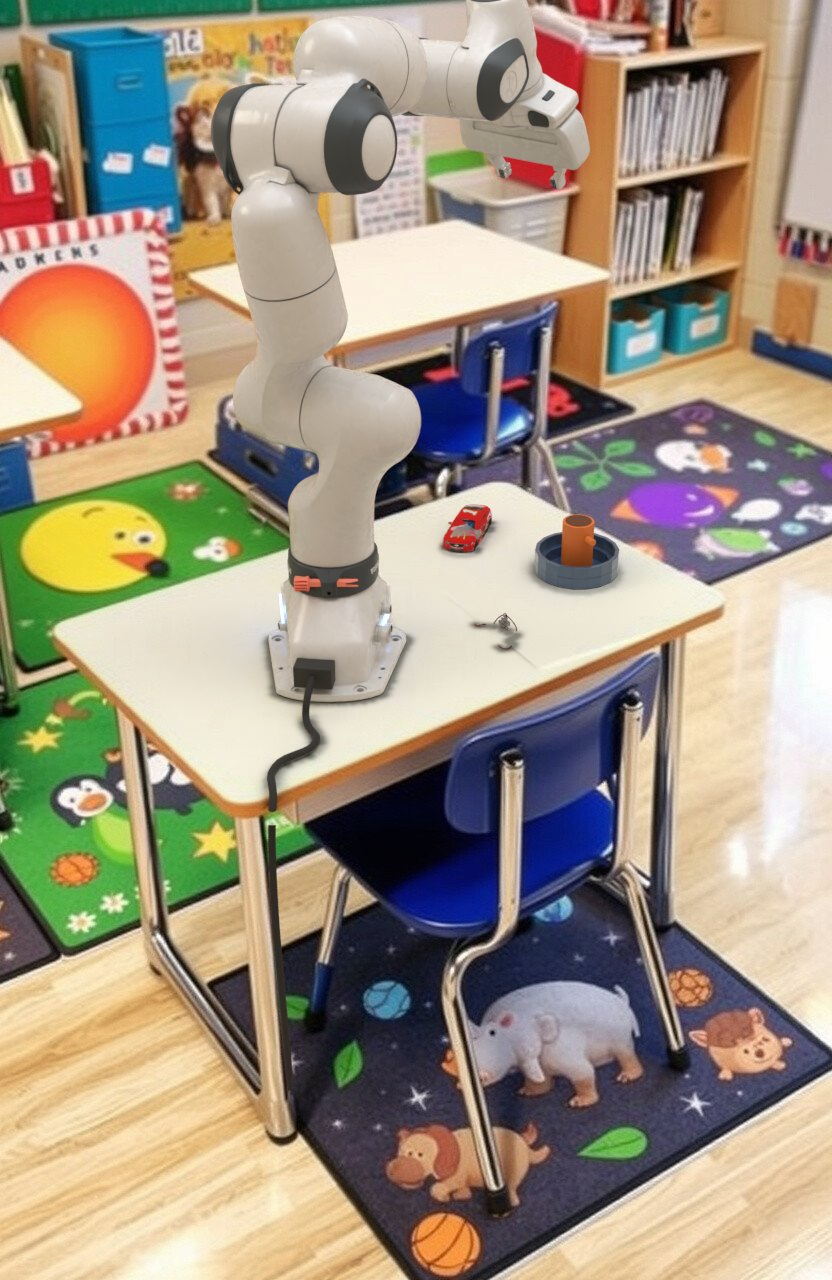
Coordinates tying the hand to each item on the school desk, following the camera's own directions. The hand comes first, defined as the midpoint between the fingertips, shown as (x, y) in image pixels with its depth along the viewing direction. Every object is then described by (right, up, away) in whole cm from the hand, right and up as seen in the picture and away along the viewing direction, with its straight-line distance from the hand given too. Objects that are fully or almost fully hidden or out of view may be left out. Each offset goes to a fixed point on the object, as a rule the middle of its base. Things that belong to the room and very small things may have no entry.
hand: (531, 180), depth 205 cm
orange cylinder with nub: (+7, -57, +1) cm, 58 cm away
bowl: (+7, -58, +2) cm, 58 cm away
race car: (-9, -52, +13) cm, 54 cm away
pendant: (-6, -67, -13) cm, 69 cm away
